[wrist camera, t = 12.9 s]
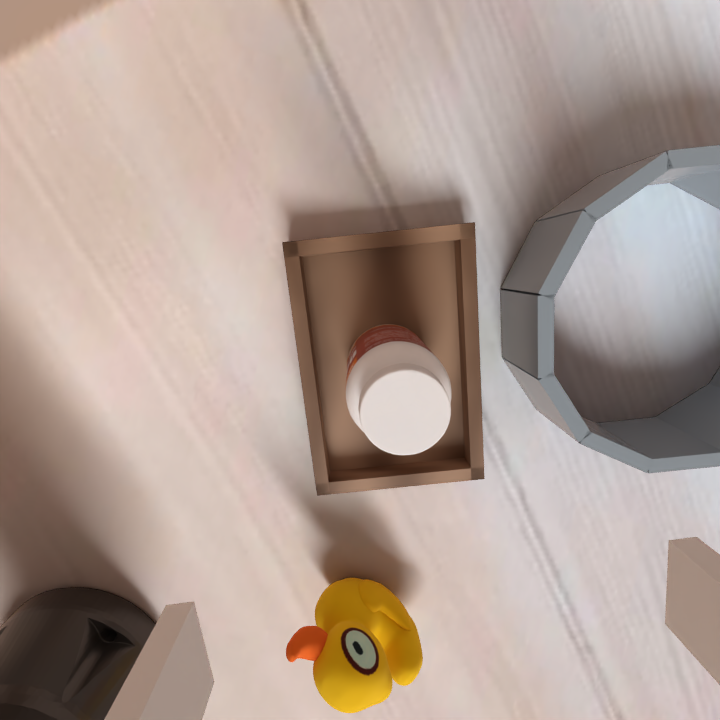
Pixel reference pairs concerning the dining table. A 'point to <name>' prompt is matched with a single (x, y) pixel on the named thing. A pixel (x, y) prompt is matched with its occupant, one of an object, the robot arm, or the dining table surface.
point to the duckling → (358, 644)
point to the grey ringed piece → (536, 319)
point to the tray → (378, 307)
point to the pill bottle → (397, 390)
